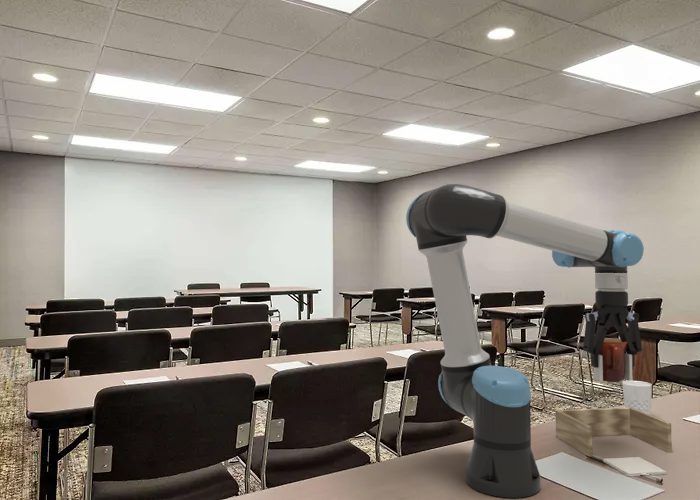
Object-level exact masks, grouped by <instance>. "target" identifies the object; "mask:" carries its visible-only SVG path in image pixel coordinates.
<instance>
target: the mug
mask: <svg viewBox="0 0 700 500" xmlns="http://www.w3.org/2000/svg"><path fill="white" fill-rule="evenodd" d="M627 343H628V341H626V342H621V339H620V338H612V337H609V338H608V337H605V339H604V342H603V345H602V347H601V350H600V353H599V355H602V357H603V381H602V382H607V383H620V382H623V381H625V379H624V377H625V353H626V352H625V349H626V346H627ZM592 368H593V369H592V370H593V372H594V367H592Z"/></svg>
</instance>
